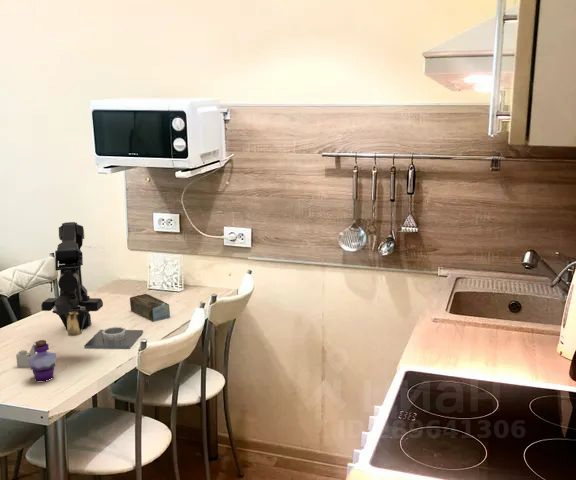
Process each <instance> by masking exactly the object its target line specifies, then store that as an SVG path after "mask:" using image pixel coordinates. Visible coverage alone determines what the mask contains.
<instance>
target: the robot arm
mask: <svg viewBox="0 0 576 480" xmlns="http://www.w3.org/2000/svg"><path fill="white" fill-rule="evenodd" d="M58 238H59V241H61V242H60V243H58V244H57V250H55V251H54V259H55V261H54V262H55V265H54V267H55V271H59V273H60V275H59V279H58V281H57V285H58V287H59V296H58V297H48V298H47V299H45V300H44V301H43V302H42V303H40V304H41V307H40V309H41V311H42V312H49V311H52V313H53V314H56V315H57V316H58V317H59V318H60V320H61V321H62V324H63V326H64V328H65V330H67V320H66V314H67V313H69V312H78V314H79V321H80V330H81V331H83V330H86V329H87V328H88V327H90V325H92V319H91V316H92V315H91V313H90V312H98V311H99V310H100V309H101V308H102V307H103V306H104V302H103V300H102V298H95V297H93V298H91V297H90V295H88V289H87V288H86V287H85V286H84V285H83V277H82V266H84V265H83V264H84V261H83V259H84V258H83V251H82V250H81V249H82V247H83V242H84V239H85V229H84V226H82V225H81V224H78V222H75V221H69V222H67V221H66V222H63V223H61V226H59V227H58Z"/></svg>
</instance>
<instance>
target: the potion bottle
mask: <svg viewBox="0 0 576 480" xmlns="http://www.w3.org/2000/svg"><path fill="white" fill-rule="evenodd" d="M35 342H36V345H35V346H34V352H36V353H35V354H34V355H32V356H30V357H28V362H29V365H30V367H29V368H30V370H31V371H32V373H33V376H34V380H35V379H36V381H35V382H37V381H45V382H47V381H46V380H49V379H51V378H53V379H54V372H55V367H56V363H57V353H55V352H50V351H48V350H50V349H49V348H50V347H49V343H47V341H46V340H45V339H40V340H37V341H35ZM51 380H52V379H51ZM49 381H50V380H49Z"/></svg>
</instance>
